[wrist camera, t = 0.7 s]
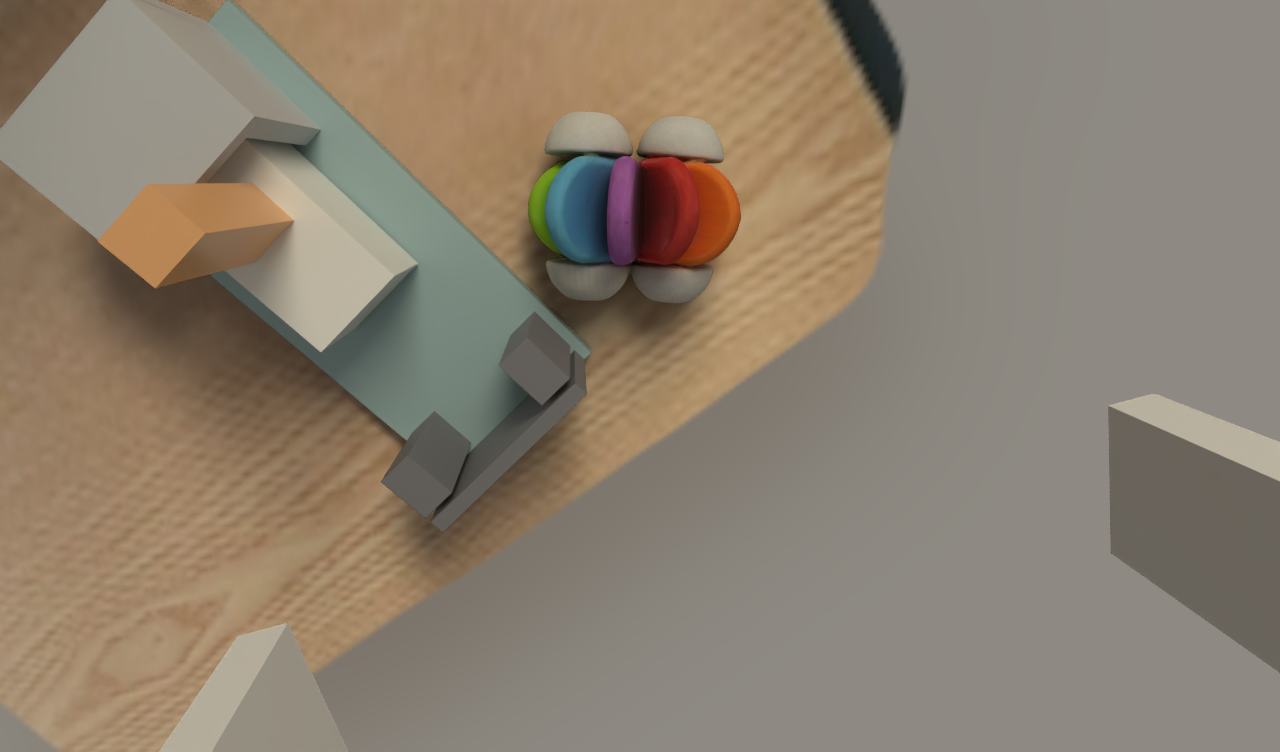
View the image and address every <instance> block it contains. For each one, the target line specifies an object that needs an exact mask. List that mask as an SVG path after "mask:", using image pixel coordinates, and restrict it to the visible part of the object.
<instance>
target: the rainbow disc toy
mask: <svg viewBox="0 0 1280 752" xmlns="http://www.w3.org/2000/svg"><path fill="white" fill-rule="evenodd" d="M544 151H545V153H546V154H550V155H556V156H566V157H577V158H574V159H573V160H571V161H560V162H558V163H556V164H555V165H554V166H553V167H551V168H550V169H548V170H547V171H546V172H545V173H543V175H542V176H541V177H540V178H539V179H538V181H537V182H536V184H535V186H534V187H533V189H532V192H531V194H530V197H529V202H528V215H529V220H530V223H531V226H532V228H533V230H534V232H535V233H536V235H537V236H538V238H539V239H540V240H541V241H542V242H543V243H544V244H545V245H546V246H547V247H549V248H550V249H551V250H553V251H554V252H555V253H556V254H558V255H561V256H565V257H566V258H555V259H549V260H548V261H547V262H546V267H547V272H548V275H549V277H550V279H551V281H552V283H553V284H554V286H555V287H556V288H557V289H558V290H559V291H560V292H561V293H562V294H563V295H565V296H566V297H568V298H571V299H574V300H582V301H599V300H605V299H608V298H610V297H611V296H613V295H614V294H615V293H616V292H618V291H619V290H620V289H621V287H622V286H623V285H624V283H625V282H626V279H627V277H628V275H629V274H631V276H632V278H633V280H634V282H635V284H636V286H637V287H638V289H639V290H640V291H641V292H642V294H643V295H645V296H646V297H647V298H649V299H651V300H654V301H658V302H666V303H685V302H689V301H691V300H693V299H694V298H696V297H697V296H698V295H700V294H701V293H702V292H703V291H704V289H705V288H706V286H707V285H708V283H709V281H710V279H711V276H712V273H713V269H712V267H710V266H709V265H705V264H704V263H707V262H709V261H711V260H713V259H714V258H716V257H717V256H719V255H720V254H721V253H722V252H723V251H724V250H725V249H726V248H727V247H728V246H729V244H730V243H731V241H732V240H733V238H734V236H735V234H736V232H737V230H738V227H739V224H740V220H741V212H740V204H739V201H738V197H737V194H736V192H735V190H734V188H733V186H732V185H731V183H730V182H729V180H728V179H727V178H726V177H725V176H724V175H723V174H722V173H721V172H720V171H718V170H717V169H715V168H714V167H712V166H710V165H708V164H705V163H721V162H723V160H724V153H723V147H722V144H721V141H720V139H719V137H718V135H717V133H716V132H715V130H714V129H713V128H712V127H711V126H710V125H709V124H708V123H707V122H706V121H704V120H702V119H698V118H692V117H681V116H669V117H663V118H661V119H659V120H658V121H656V122H655V123H653V124H652V125H651V126H650V127H649V128H648V129H647V131H646V132H645V134H644V135H643V137H642V138H641V141H640V143H639V147H638V149H637V154H638V155H639V156H640V157H643V158H648V159H645V160H642V162H641V163H638V162H637V161H636V160H634V159H633V158H631V157H629V156H631V155H632V154H633V147H632V144H631V141H630V138H629V136H628V134H627V132H626V130H625V129H624V127H623V126H622V125H621V124H620V122H618V121H617V120H616V119H615V118H614V117H612V116H611V115H608V114H605V113H598V112H571V113H568V114H566V115H565V116H563V117H562V118H561V119H560V120H558V121H557V122H556V123H555V125H554V126H553V127H552V129H551V130H550V132H549V134H548V136H547V140H546V143H545V149H544ZM635 259H637V260H635ZM634 260H635V261H634Z"/></svg>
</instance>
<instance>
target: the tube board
mask: <svg viewBox="0 0 1280 752" xmlns="http://www.w3.org/2000/svg"><path fill="white" fill-rule="evenodd" d="M246 138H252V139H259V140H267V141H275V142H283V143H290V144H291V145H292V146H293V147H294V148H295V149H296V150H297V151H298V152H300V153H301V154H302V155H303V156H304V157H305V158H306V159H307V160H308V161H309V162H310V163H311V164H312V165H313V166H315V167H316V168H317V169H318V170H319V171H320V172H321V173H322V174H323V175H324V176H325V177H326V178H327V179H328V180H330V181H331V182H332V183H333V184H334V185H335V186H336V187H337V188H338V189H339V190H340V191H341V192H342V193H343V194H345V195H346V196H347V197H348V198H349V199H350V200H351V201H352V202H353V203H354V204H355V205H356V206H357V207H359V208H360V209H361V210H362V211H363V212H364V213H365V214H366V215H367V216H368V217H369V218H370V219H371V220H372V221H374V222H375V223H376V224H377V225H378V226H379V227H380V228H381V229H382V230H383V231H384V232H385V233H386V234H387V235H389V236H390V237H391V238H392V239H393V240H394V241H395V242H396V243H397V244H398V245H399V246H400V247H401V248H402V249H404V250H405V251H406V252H407V253H408V254H409V255H410V256H411V257H412V258H413V259H414V260H415V261H416V262H417V263H418V264H417V265H416V266H415V267H414V268H413V269H412V270H411V271H410V272H409V273H408V274H407V275H406V277H405V278H404V279H403V280H402V281H401V282H400V283H399V284H398V285H397V286H396V287H395V288H394V289H393V290H392V291H391V292H390V293H389V294H388V295H387V296H386V297H385V298H384V299H383V300H382V301H381V302H380V303H379V304H378V306H377V307H376V308H375V309H374V310H373V311H372V312H371V313H370V314H369V315H368V316H367V317H366V318H365V319H364V320H363V321H362V322H361V323H360V324H359V325H358V326H357V327H356V328H355V329H354V330H353V331H352V332H350V333H349V334H347V335H346V336H344V337H343V338H341V339H340V340H338V341H337V342H336V343H334V344H333V345H331V346H330V347H328V348H327V349H325V350H324V351H322V352H320V351H319V350H318V349H316V348H315V347H314V346H313V345H312V344H310V343H309V342H308V341H307V340H306V339H305V338H303V337H302V336H301V335H300V334H299V333H298V332H296V331H295V330H294V329H293V328H292V327H290V326H289V325H288V324H287V323H286V322H285V321H283V320H282V319H281V318H280V317H279V316H278V315H276V314H275V313H274V312H273V311H272V310H270V309H269V308H268V307H267V306H266V305H265V304H263V303H262V302H261V301H260V300H259V299H257V298H256V297H255V296H254V295H253V294H252V293H250V292H249V291H248V290H247V289H246V288H245V287H243V286H242V285H241V284H240V283H239V282H237V281H236V280H235V279H234V278H233V277H232V276H230V275H229V274H228V273H227V272H226V271H221V272H217V273H213V274H209V275H210V276H211V277H213V278H214V279H215V280H216V281H217V282H219V283H220V284H221V285H222V286H223V287H224V288H226V289H227V290H228V291H229V292H230V293H232V294H233V295H234V296H235V297H236V298H238V299H239V300H240V301H241V302H242V303H243V304H245V305H246V306H247V307H248V308H249V309H251V310H252V311H253V312H254V313H255V314H257V315H258V316H259V317H260V318H261V319H262V320H264V321H265V322H266V323H267V324H268V325H270V326H271V327H272V328H273V329H274V330H276V331H277V332H278V333H279V334H280V335H281V336H283V337H284V338H285V339H286V340H287V341H289V342H290V343H291V344H292V345H293V346H295V347H296V348H297V349H298V350H299V351H300V352H302V353H303V354H304V355H305V356H306V357H308V358H309V359H310V360H311V361H312V362H314V363H315V364H316V365H317V366H318V367H319V368H321V369H322V370H323V371H324V372H325V373H327V374H328V375H329V376H330V377H331V378H333V379H334V380H335V381H336V382H337V383H338V384H340V385H341V386H342V387H343V388H344V389H346V390H347V391H348V392H349V393H350V394H352V395H353V396H354V397H355V398H356V399H357V400H359V401H360V402H361V403H362V404H363V405H365V406H366V407H367V408H368V409H369V410H371V411H372V412H373V413H374V414H375V415H376V416H378V417H379V418H380V419H381V420H382V421H384V422H385V423H386V424H387V425H388V426H390V427H391V428H392V429H393V430H394V431H395V432H397V433H398V434H399V435H400V436H401V437H403V438H404V439H405V440H406V443H405V445H404V446H403V448H402V449H401V451H400V452H399V454H398V456H397V457H396V459H395V460H394V462H393V463H392V465H391V467H390V468H389V470H388V471H387V473H386V474H385V476H384V478H383V479H382V481H381V483H383V484H384V485H385V486H386V487H387V488H389V489H390V490H391V491H392V492H394V493H395V494H396V495H397V496H399V497H400V498H401V499H402V500H404V501H405V502H406V503H407V504H408V505H410V506H411V507H412V508H413V509H415V510H416V511H417V512H418V513H420V514H421V515H422V516H423V517H424V518H426V517H427V516H428V515H429V514H430V513H431V512H432V511H433V510H434V509H435V508H436V507H437V508H436V511H435V513H434V515H433V518H432V520H431V523H432V524H433V525H434V526H436V527H437V528H438V529H439V530H440V531H442V532H444V531H445V530H446V529H447V528H448V527H449V526H450V525H451V524H452V523H453V522H454V521H455V520H456V519H457V518H458V517H459V516H460V515H461V514H462V513H463V512H464V511H465V510H466V509H468V508H469V507H470V506H471V505H472V504H473V503H474V502H475V501H476V500H477V499H478V498H479V497H480V496H481V495H482V494H483V493H484V492H485V491H486V490H487V489H488V488H489V487H490V486H491V485H493V484H494V483H495V482H496V481H497V480H498V479H499V478H500V477H501V476H502V475H503V474H504V473H505V472H506V471H507V470H508V469H509V468H510V467H511V466H512V465H513V464H514V463H515V462H517V461H518V460H519V459H520V458H521V457H522V456H523V455H524V454H525V453H526V452H527V451H528V450H529V449H530V448H531V447H532V446H533V445H534V444H535V443H536V442H537V441H538V440H539V439H541V438H542V437H543V436H544V435H545V434H546V433H547V432H548V431H549V430H550V429H551V428H552V427H553V426H554V425H555V424H556V423H557V422H558V421H559V420H560V419H561V418H562V417H563V416H564V415H566V414H567V413H568V412H569V411H570V410H571V409H572V408H573V407H574V406H575V405H576V404H577V403H578V402H579V401H580V400H581V399H582V398H583V397H584V396H585V395H586V394H587V391H586V376H585V360H584V359H585V358H586V357H587V356H588V355H589V354H590V353H591V348H590V347H589V346H588V345H587V344H586V343H585V342H584V341H583V340H582V339H581V338H580V337H579V336H578V335H577V334H576V333H575V332H574V331H573V330H572V329H571V328H570V327H569V326H568V325H567V324H566V323H565V322H564V321H563V320H562V319H561V318H560V317H559V316H557V315H556V314H555V313H554V312H553V311H552V310H551V309H550V308H549V307H548V306H547V305H546V304H545V303H544V302H543V301H542V300H541V299H540V298H539V297H538V296H537V295H536V294H535V293H534V292H533V291H532V290H531V289H530V288H529V287H528V286H527V285H526V284H525V283H524V282H523V281H522V280H520V279H519V278H518V277H517V276H516V275H515V274H514V273H513V272H512V271H511V270H510V269H509V268H508V267H507V266H506V265H505V264H504V263H503V262H502V261H501V260H500V259H499V258H498V257H497V256H496V255H495V254H494V253H493V252H492V251H491V250H490V249H489V248H488V247H487V246H486V245H485V244H483V243H482V242H481V241H480V240H479V239H478V238H477V237H476V236H475V235H474V234H473V233H472V232H471V231H470V230H469V229H468V228H467V227H466V226H465V225H464V224H463V223H462V222H461V221H460V220H459V219H458V218H457V217H456V216H455V215H454V214H453V213H452V212H451V211H450V210H449V209H448V208H446V207H445V206H444V205H443V204H442V203H441V202H440V201H439V200H438V199H437V198H436V197H435V196H434V195H433V194H432V193H431V192H430V191H429V190H428V189H427V188H426V187H425V186H424V185H423V184H422V183H421V182H420V181H419V180H418V179H417V178H416V177H415V176H414V175H413V174H412V173H411V172H409V171H408V170H407V169H406V168H405V167H404V166H403V165H402V164H401V163H400V162H399V161H398V160H397V159H396V158H395V157H394V156H393V155H392V154H391V153H390V152H389V151H388V150H387V149H386V148H385V147H384V146H383V145H382V144H381V143H380V142H379V141H378V140H377V139H376V138H375V137H374V136H372V135H371V134H370V133H369V132H368V131H367V130H366V129H365V128H364V127H363V126H362V125H361V124H360V123H359V122H358V121H357V120H356V119H355V118H354V117H353V116H352V115H351V114H350V113H349V112H348V111H347V110H346V109H345V108H344V107H343V106H342V105H341V104H340V103H339V102H338V101H337V100H335V99H334V98H333V97H332V96H331V95H330V94H329V93H328V92H327V91H326V90H325V89H324V88H323V87H322V86H321V85H320V84H319V83H318V82H317V81H316V80H315V79H314V78H313V77H312V76H311V75H310V74H309V73H308V72H307V71H306V70H305V69H304V68H303V67H302V66H301V65H299V64H298V63H297V62H296V61H295V60H294V59H293V58H292V57H291V56H290V55H289V54H288V53H287V52H286V51H285V50H284V49H283V48H282V47H281V46H280V45H279V44H278V43H277V42H276V41H275V40H274V39H273V38H272V37H271V36H270V35H269V34H268V33H267V32H266V31H265V30H264V29H262V28H261V27H260V26H259V25H258V24H257V23H256V22H255V21H254V20H253V19H252V18H251V17H250V16H249V15H248V14H247V13H246V12H245V11H244V10H243V9H242V8H241V7H240V6H239V5H237V4H235V3H234V2H232V1H230V0H227V1H226V2H225V3H224V4H223V5H222V6H221V7H220V9H219V10H218V11H217V12H216V13H215V14H214V16H213V17H212V18H211V19H210V20H209V21H208V22H207V21H204V20H202V19H200V18H197V17H195V16H193V15H191V14H188V13H186V12H184V11H181V10H179V9H177V8H174V7H172V6H170V5H167V4H165V3H163V2H160V1H158V0H107V1H106V2H105V3H104V5H103V6H102V7H101V8H100V9H99V11H98V12H97V13H96V14H95V16H94V17H93V18H92V19H91V20H90V22H89V23H88V24H87V25H86V26H85V28H84V29H83V30H82V31H81V32H80V34H79V35H78V36H77V37H76V38H75V40H74V41H73V42H72V43H71V44H70V46H69V47H68V48H67V49H66V50H65V52H64V53H63V54H62V55H61V56H60V58H59V59H58V60H57V61H56V62H55V64H54V65H53V66H52V67H51V68H50V70H49V71H48V72H47V73H46V75H45V76H44V77H43V78H42V79H41V81H40V82H39V83H38V84H37V85H36V87H35V88H34V89H33V90H32V91H31V93H30V94H29V95H28V96H27V97H26V99H25V100H24V101H23V102H22V103H21V105H20V106H19V107H18V108H17V109H16V111H15V112H14V113H13V114H12V115H11V117H10V118H9V119H8V120H7V121H6V123H5V124H4V125H3V126H2V128H1V129H0V160H1V161H2V162H3V163H5V164H6V165H7V166H8V167H9V168H11V169H12V170H13V171H14V172H16V173H17V174H18V175H19V176H20V177H22V178H23V179H24V180H25V181H27V182H28V183H29V184H30V185H31V186H33V187H34V188H35V189H36V190H38V191H39V192H40V193H41V194H42V195H44V196H45V197H46V198H47V199H49V200H50V201H51V202H52V203H53V204H55V205H56V206H57V207H58V208H60V209H61V210H62V211H63V212H65V213H66V214H67V215H68V216H69V217H71V218H72V219H73V220H74V221H76V222H77V223H78V224H79V225H80V226H82V227H83V228H84V229H85V230H87V231H88V232H89V233H90V234H91V235H93V236H94V237H95V238H96V239H98V240H99V239H100V238H101V236H102V235H103V234H104V233H105V232H106V231H107V230H108V228H109V227H110V226H111V225H112V224H113V223H114V222H115V221H116V219H117V218H118V217H119V216H120V215H121V214H122V213H123V211H124V210H125V209H126V208H127V207H128V206H129V205H130V203H131V202H132V201H133V200H134V199H135V198H136V197H137V195H138V194H139V193H140V192H141V191H142V190H143V189H144V187H145V186H146V185H147V184H191V183H207V181H208V180H209V179H210V178H211V177H212V176H213V175H214V174H215V173H216V171H217V170H218V169H219V168H220V167H221V166H222V165H223V164H224V162H225V161H226V160H227V159H228V158H229V157H230V156H231V155H232V153H233V152H234V151H235V150H236V149H237V148H238V147H239V146H240V145H241V143H242V142H243V141H244V140H245V139H246Z"/></svg>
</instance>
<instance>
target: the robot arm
mask: <svg viewBox="0 0 1280 752" xmlns="http://www.w3.org/2000/svg"><path fill="white" fill-rule="evenodd" d="M1108 415H1109V469H1110V470H1109V473H1110V474H1109V475H1110V534H1111V554H1113V555H1114V556H1116V557H1117V558H1118V559H1120V560H1121V561H1123V562H1124V563H1125V564H1127V565H1128V566H1130V567H1131V568H1133V569H1134V570H1135V571H1137V572H1138V573H1140V574H1141V575H1142V576H1144V577H1145V578H1147V579H1148V580H1150V581H1151V582H1152V583H1154V584H1155V585H1157V586H1158V587H1159V588H1161V589H1162V590H1164V591H1165V592H1166V593H1168V594H1169V595H1171V596H1172V597H1174V598H1175V599H1177V600H1178V601H1179V602H1181V603H1182V604H1184V605H1185V606H1186V607H1188V608H1189V609H1191V610H1192V611H1193V612H1195V613H1196V614H1198V615H1199V616H1201V617H1202V618H1203V619H1205V620H1206V621H1208V622H1209V623H1210V624H1212V625H1213V626H1215V627H1216V628H1217V629H1219V630H1220V631H1222V632H1223V633H1225V634H1226V635H1227V636H1229V637H1230V638H1232V639H1233V640H1234V641H1236V642H1237V643H1239V644H1240V645H1241V646H1243V647H1244V648H1246V649H1247V650H1248V651H1250V652H1251V653H1253V654H1254V655H1256V656H1257V657H1258V658H1260V659H1261V660H1263V661H1264V662H1265V663H1267V664H1268V665H1270V666H1271V667H1272V668H1274V669H1275V670H1277V671H1278V672H1280V442H1278V441H1275V440H1273V439H1270V438H1267V437H1265V436H1262V435H1260V434H1257V433H1254V432H1252V431H1249V430H1247V429H1244V428H1242V427H1239V426H1237V425H1234V424H1231V423H1229V422H1226V421H1224V420H1221V419H1218V418H1216V417H1213V416H1211V415H1208V414H1205V413H1203V412H1200V411H1198V410H1195V409H1193V408H1190V407H1187V406H1185V405H1182V404H1180V403H1177V402H1175V401H1172V400H1169V399H1167V398H1164V397H1162V396H1159V395H1157V394H1150V395H1147V396H1143V397H1139V398H1136V399H1131V400H1128V401H1124V402H1120V403H1116V404H1113V405H1109V406H1108ZM159 752H348V750H347V747H346V745H345V743H344V741H343V739H342V737H341V734H340V732H339V731H338V728H337V726H336V724H335V722H334V720H333V718H332V716H331V713H330V711H329V709H328V707H327V705H326V703H325V701H324V698H323V697H322V694H321V692H320V690H319V688H318V686H317V684H316V681H315V679H314V677H313V675H312V673H311V671H310V669H309V667H308V664H307V662H306V660H305V658H304V656H303V654H302V652H301V650H300V647H299V645H298V643H297V641H296V639H295V637H294V635H293V633H292V631H291V628H290V626H289V624H288V623H285V624H281V625H278V626H274V627H270V628H266V629H263V630H259V631H255V632H251V633H247V634H244V635H240V636H237V638H236V639H235V641H234V642H233V644H232V645H231V647H230V648H229V650H228V651H227V653H226V654H225V655H224V657H223V658H222V660H221V661H220V663H219V664H218V666H217V667H216V669H215V670H214V672H213V673H212V675H211V676H210V677H209V679H208V680H207V682H206V683H205V685H204V686H203V688H202V689H201V691H200V692H199V694H198V695H197V697H196V698H195V700H194V701H193V702H192V704H191V705H190V707H189V708H188V710H187V711H186V713H185V714H184V716H183V717H182V719H181V720H180V722H179V723H178V724H177V726H176V727H175V729H174V730H173V732H172V733H171V735H170V736H169V738H168V739H167V741H166V742H165V744H164V745H163V746H162V748H161V749H160V751H159Z"/></svg>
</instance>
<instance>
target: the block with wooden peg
mask: <svg viewBox="0 0 1280 752" xmlns="http://www.w3.org/2000/svg"><path fill="white" fill-rule="evenodd" d="M98 242H99V243H100V244H101V245H102V246H104V247H105V248H106V249H107V250H109V251H110V252H111V253H112V254H113V255H115V256H116V257H117V258H118V259H120V260H121V261H122V262H123V263H125V264H126V265H127V266H128V267H129V268H131V269H132V270H133V271H134V272H136V273H137V274H138V275H139V276H140V277H142V278H143V279H144V280H145V281H147V282H148V283H149V284H150V285H151V286H153V287H154V288H159V287H163V286H167V285H171V284H175V283H178V282H182V281H186V280H190V279H194V278H198V277H201V276H205V275H209V274H213V273H217V272H221V271H226V272H227V273H228V274H229V275H230V276H232V277H233V278H234V279H235V280H236V281H237V282H239V283H240V284H241V285H242V286H243V287H245V288H246V289H247V290H248V291H249V292H250V293H252V294H253V295H254V296H255V297H256V298H257V299H259V300H260V301H261V302H262V303H263V304H265V305H266V306H267V307H268V308H269V309H270V310H272V311H273V312H274V313H275V314H276V315H278V316H279V317H280V318H281V319H282V320H283V321H285V322H286V323H287V324H288V325H289V326H290V327H292V328H293V329H294V330H295V331H296V332H298V333H299V334H300V335H301V336H302V337H303V338H305V339H306V340H307V341H308V342H309V343H310V344H312V345H313V346H314V347H315V348H316V349H318V350H319V351H320V352H322V351H324V350H325V349H327V348H328V347H330V346H331V345H333V344H334V343H336V342H337V341H338V340H340V339H341V338H343V337H344V336H346V335H347V334H349V333H350V332H352V331H353V330H354V329H355V328H356V327H357V326H358V325H359V324H360V323H361V322H362V321H363V320H364V319H365V318H366V317H367V316H368V315H369V314H370V313H371V312H372V311H373V310H374V309H375V308H376V307H377V306H378V304H379V303H380V302H381V301H382V300H383V299H384V298H385V297H386V296H387V295H388V294H389V293H390V292H391V291H392V290H393V289H394V288H395V287H396V286H397V285H398V284H399V283H400V282H401V281H402V280H403V279H404V278H405V277H406V275H407V274H408V273H409V272H410V271H411V270H412V269H413V268H414V267H415V266H416V265H417V264H418V263H417V262H416V261H415V260H414V259H413V258H412V257H411V256H410V255H409V254H408V253H407V252H406V251H405V250H404V249H402V248H401V247H400V246H399V245H398V244H397V243H396V242H395V241H394V240H393V239H392V238H391V237H390V236H389V235H387V234H386V233H385V232H384V231H383V230H382V229H381V228H380V227H379V226H378V225H377V224H376V223H375V222H374V221H372V220H371V219H370V218H369V217H368V216H367V215H366V214H365V213H364V212H363V211H362V210H361V209H360V208H359V207H357V206H356V205H355V204H354V203H353V202H352V201H351V200H350V199H349V198H348V197H347V196H346V195H345V194H343V193H342V192H341V191H340V190H339V189H338V188H337V187H336V186H335V185H334V184H333V183H332V182H331V181H330V180H328V179H327V178H326V177H325V176H324V175H323V174H322V173H321V172H320V171H319V170H318V169H317V168H316V167H315V166H313V165H312V164H311V163H310V162H309V161H308V160H307V159H306V158H305V157H304V156H303V155H302V154H301V153H300V152H298V151H297V150H296V149H295V148H294V147H293V146H292V145H291V144H290V143H283V142H275V141H267V140H259V139H252V138H246V139H245V140H244V141H243V142H242V143H241V145H240V146H239V147H238V148H237V149H236V150H235V151H234V152H233V153H232V155H231V156H230V157H229V158H228V159H227V160H226V161H225V162H224V164H223V165H222V166H221V167H220V168H219V169H218V170H217V171H216V173H215V174H214V175H213V176H212V177H211V178H210V179H209V180H208V181H207V183H191V184H147V185H146V186H145V187H144V189H143V190H142V191H141V192H140V193H139V194H138V195H137V197H136V198H135V199H134V200H133V201H132V202H131V203H130V205H129V206H128V207H127V208H126V209H125V210H124V211H123V213H122V214H121V215H120V216H119V217H118V218H117V219H116V221H115V222H114V223H113V224H112V225H111V226H110V227H109V228H108V230H107V231H106V232H105V233H104V234H103V235H102V236H101V238H100V239H99V240H98Z"/></svg>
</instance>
